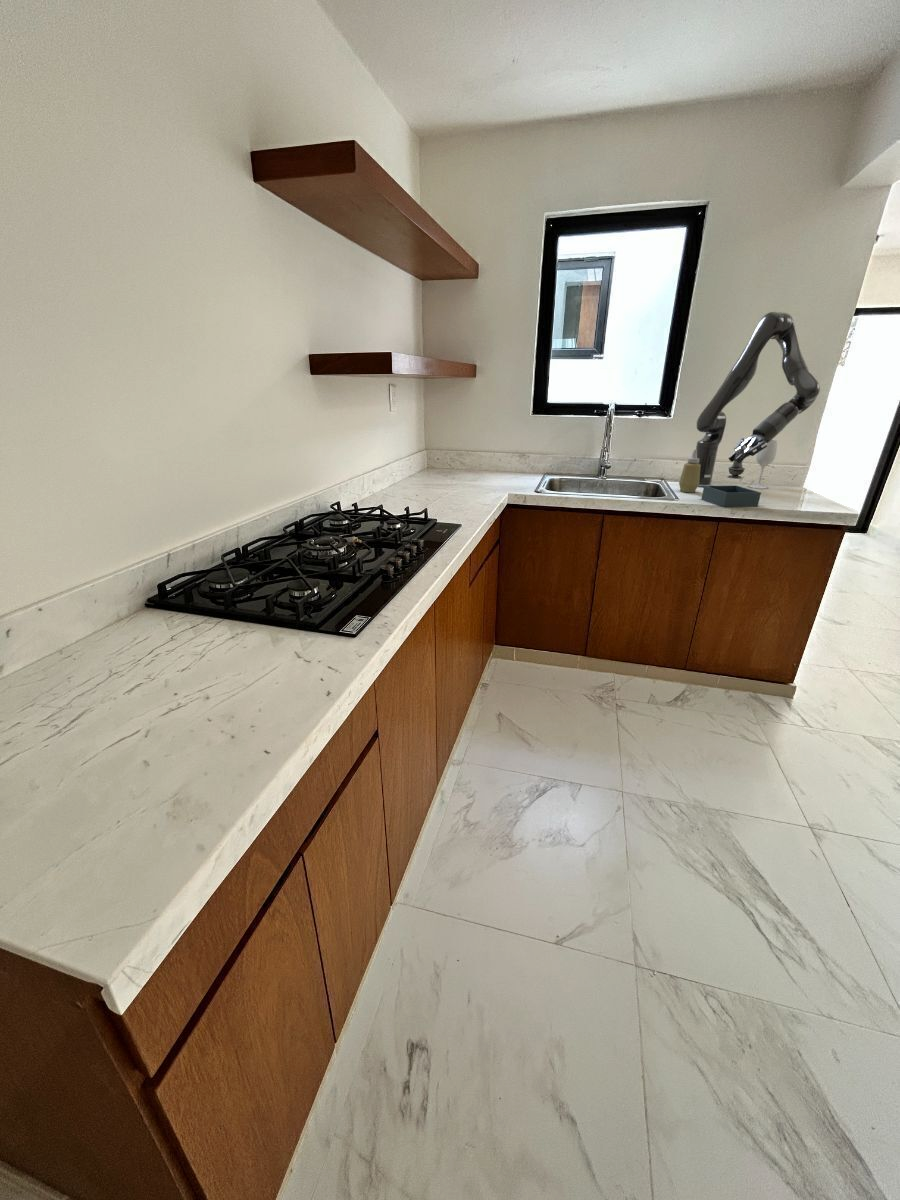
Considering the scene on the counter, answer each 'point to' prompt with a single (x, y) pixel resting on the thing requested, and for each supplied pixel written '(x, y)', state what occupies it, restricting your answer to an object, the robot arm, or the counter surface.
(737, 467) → the salt shaker
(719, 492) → the bin
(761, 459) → the wineglass
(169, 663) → the counter surface
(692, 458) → the squeeze bottle
